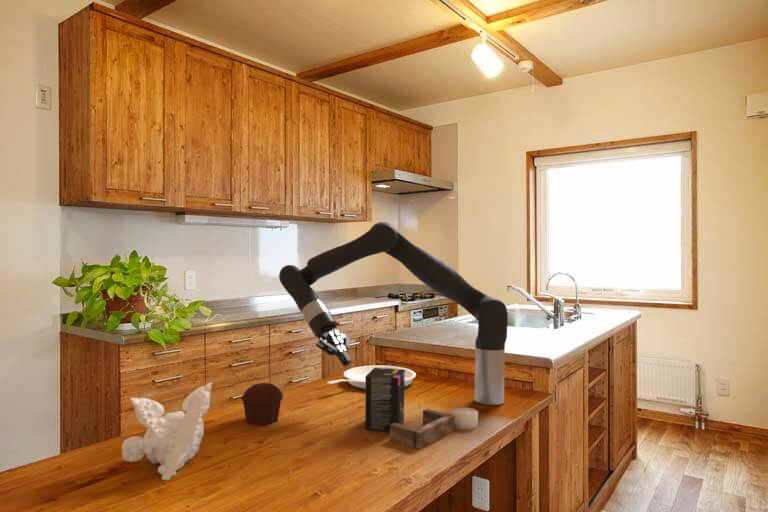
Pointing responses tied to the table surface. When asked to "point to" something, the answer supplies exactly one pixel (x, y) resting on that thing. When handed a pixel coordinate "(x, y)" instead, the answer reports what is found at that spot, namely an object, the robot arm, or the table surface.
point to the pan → (358, 374)
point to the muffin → (262, 404)
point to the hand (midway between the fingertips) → (348, 364)
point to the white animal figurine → (168, 432)
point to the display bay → (424, 429)
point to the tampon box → (384, 398)
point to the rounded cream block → (465, 418)
